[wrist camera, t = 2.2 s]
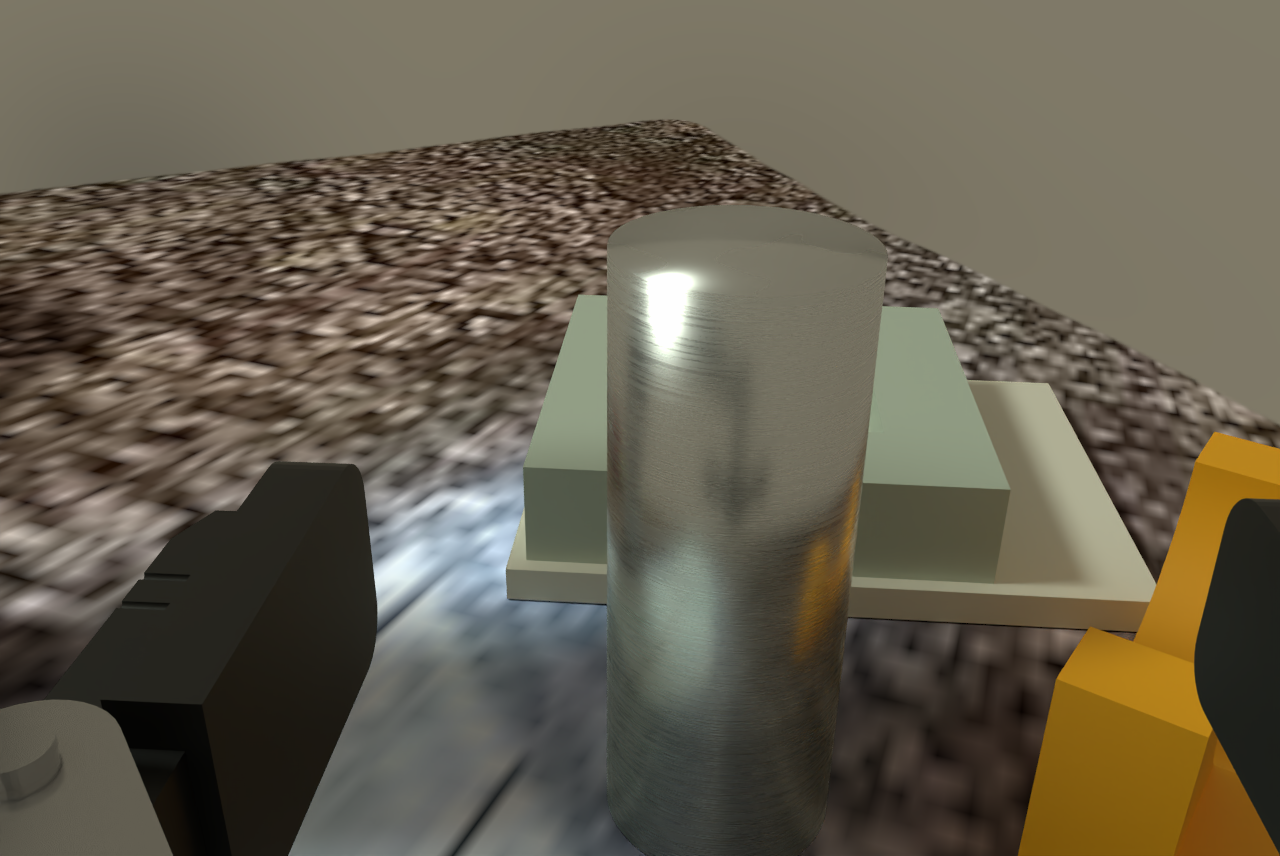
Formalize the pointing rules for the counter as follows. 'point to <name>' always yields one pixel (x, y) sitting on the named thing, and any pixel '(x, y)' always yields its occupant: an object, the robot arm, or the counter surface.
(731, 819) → the steel shaft
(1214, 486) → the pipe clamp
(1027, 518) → the pale green square frame
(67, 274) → the counter surface
